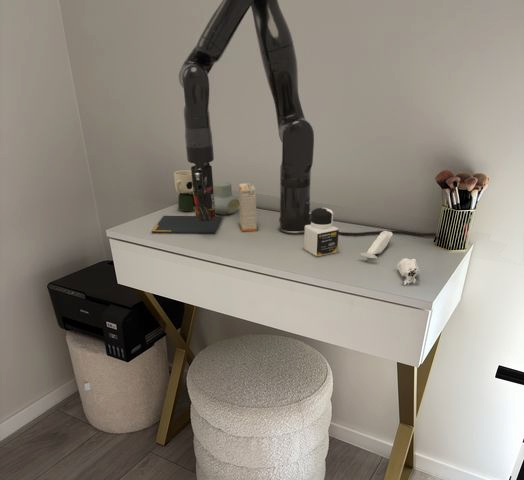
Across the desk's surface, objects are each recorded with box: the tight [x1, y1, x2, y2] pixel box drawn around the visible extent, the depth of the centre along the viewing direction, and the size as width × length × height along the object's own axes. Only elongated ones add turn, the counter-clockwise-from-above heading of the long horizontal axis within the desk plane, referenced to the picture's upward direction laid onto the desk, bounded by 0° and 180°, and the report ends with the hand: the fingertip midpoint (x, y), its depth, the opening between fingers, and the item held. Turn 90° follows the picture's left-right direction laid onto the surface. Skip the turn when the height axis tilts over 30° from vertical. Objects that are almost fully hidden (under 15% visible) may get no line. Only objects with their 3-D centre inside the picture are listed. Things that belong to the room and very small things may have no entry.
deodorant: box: [190, 164, 217, 221], centre depth 157 cm, size 6×6×15 cm
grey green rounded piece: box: [213, 180, 240, 216], centre depth 183 cm, size 11×8×10 cm
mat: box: [151, 215, 223, 235], centre depth 175 cm, size 20×16×1 cm
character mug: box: [173, 169, 195, 212], centre depth 185 cm, size 11×7×13 cm, turn 155°
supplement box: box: [238, 182, 258, 232], centre depth 169 cm, size 8×5×13 cm, turn 8°
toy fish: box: [357, 230, 394, 259], centre depth 151 cm, size 6×18×4 cm, turn 151°
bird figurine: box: [396, 257, 421, 286], centre depth 136 cm, size 5×7×10 cm
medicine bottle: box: [303, 207, 340, 257], centre depth 151 cm, size 7×7×12 cm
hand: (204, 202), depth 158 cm, fingers closed on deodorant, 6 cm apart
